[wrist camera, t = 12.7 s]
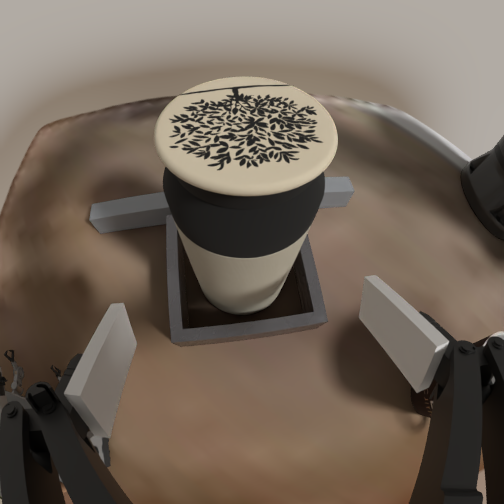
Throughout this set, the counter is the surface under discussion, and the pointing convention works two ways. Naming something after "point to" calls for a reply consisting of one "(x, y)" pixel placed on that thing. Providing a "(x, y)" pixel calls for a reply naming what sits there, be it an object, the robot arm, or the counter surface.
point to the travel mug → (244, 182)
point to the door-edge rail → (156, 209)
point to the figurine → (3, 397)
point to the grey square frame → (184, 336)
